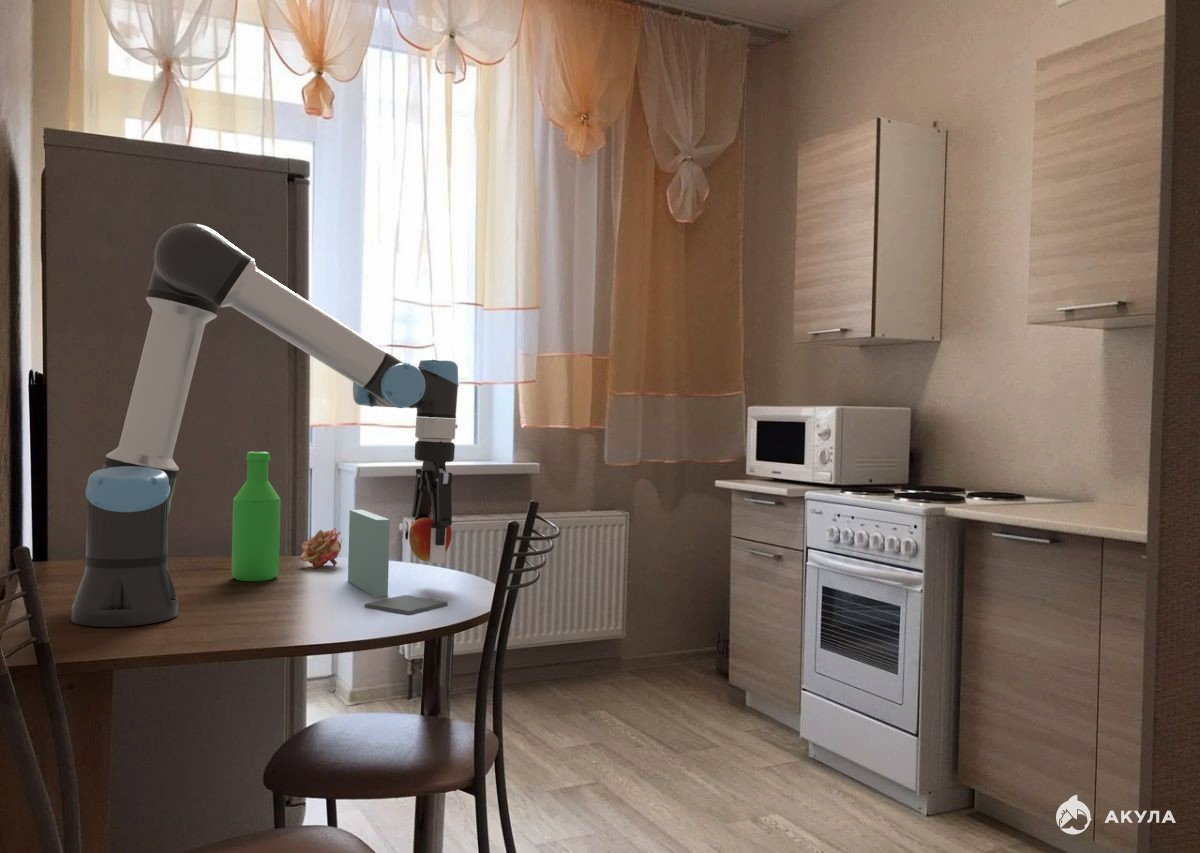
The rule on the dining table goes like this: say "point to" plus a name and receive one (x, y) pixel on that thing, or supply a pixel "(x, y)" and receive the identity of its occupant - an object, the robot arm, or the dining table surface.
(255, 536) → the bottle
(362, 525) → the grey-green flat block
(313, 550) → the flower
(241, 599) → the dining table surface
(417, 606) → the coaster
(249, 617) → the dining table surface
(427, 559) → the apple
